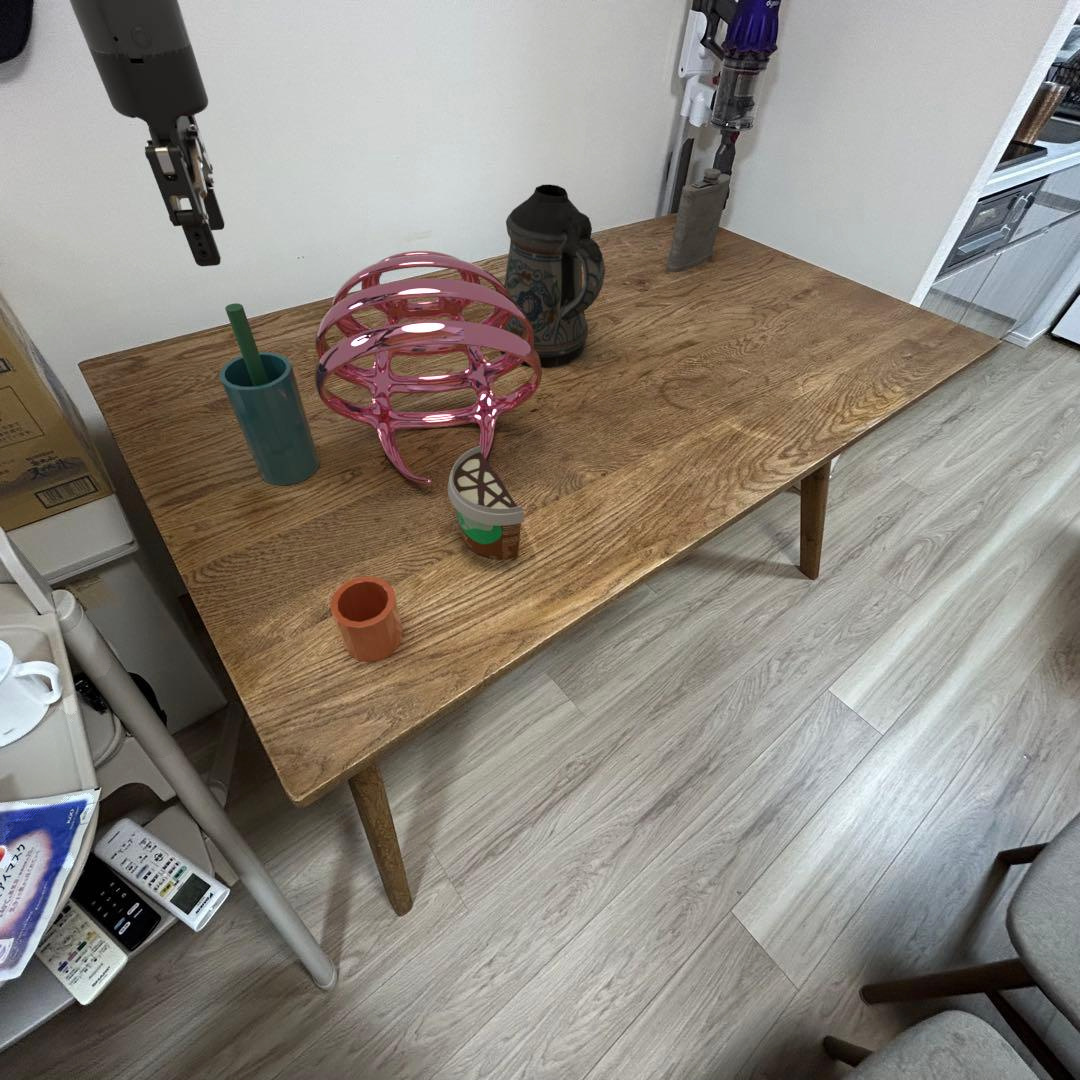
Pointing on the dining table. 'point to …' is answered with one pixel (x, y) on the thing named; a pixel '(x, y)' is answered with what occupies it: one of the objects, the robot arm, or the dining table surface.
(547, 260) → the beer stein
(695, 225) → the flask
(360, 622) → the cup
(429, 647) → the dining table surface
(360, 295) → the spiral basket
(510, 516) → the food container
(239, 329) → the bottle brush
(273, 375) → the teal cylindrical cup
